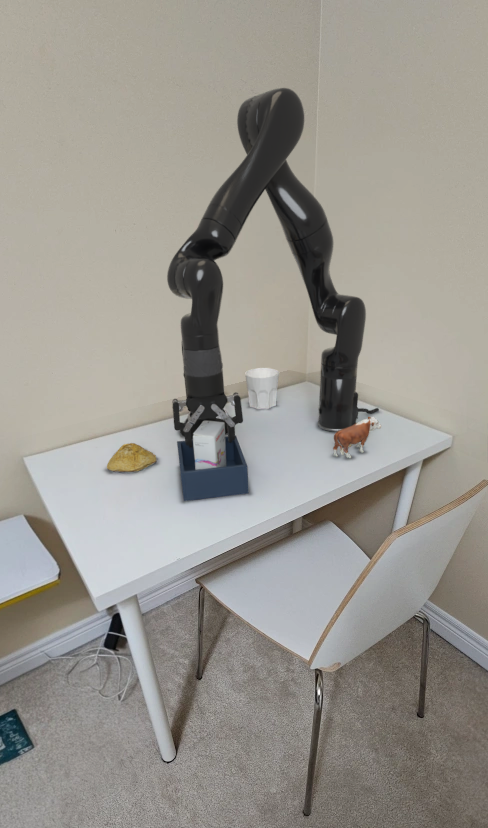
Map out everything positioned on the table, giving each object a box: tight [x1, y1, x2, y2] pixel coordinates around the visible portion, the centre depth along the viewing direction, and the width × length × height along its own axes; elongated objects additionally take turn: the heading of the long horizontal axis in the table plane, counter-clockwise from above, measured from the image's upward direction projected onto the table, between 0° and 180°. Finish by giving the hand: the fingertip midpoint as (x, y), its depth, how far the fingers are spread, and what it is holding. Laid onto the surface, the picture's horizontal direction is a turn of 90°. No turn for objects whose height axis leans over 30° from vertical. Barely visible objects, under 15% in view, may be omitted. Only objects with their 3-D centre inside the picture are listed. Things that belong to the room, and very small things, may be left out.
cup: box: [244, 367, 280, 410], centre depth 143 cm, size 10×10×10 cm
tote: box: [176, 434, 250, 502], centre depth 104 cm, size 14×16×7 cm
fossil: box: [106, 442, 158, 473], centre depth 113 cm, size 11×6×10 cm
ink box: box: [193, 421, 226, 470], centre depth 103 cm, size 9×5×12 cm, turn 169°
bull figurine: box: [332, 415, 382, 459], centre depth 113 cm, size 4×13×8 cm, turn 121°
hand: (210, 444), depth 102 cm, fingers open, 8 cm apart
